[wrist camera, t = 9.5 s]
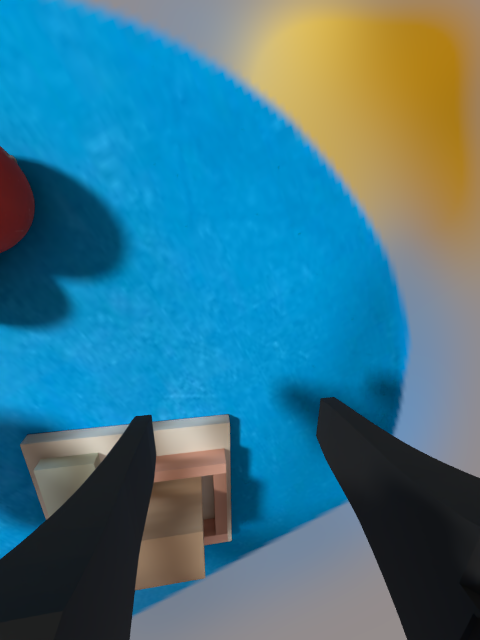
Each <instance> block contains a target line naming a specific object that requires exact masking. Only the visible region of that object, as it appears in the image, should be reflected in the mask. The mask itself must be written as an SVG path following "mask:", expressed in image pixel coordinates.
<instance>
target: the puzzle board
mask: <svg viewBox="0 0 480 640" xmlns="http://www.w3.org/2000/svg"><path fill="white" fill-rule="evenodd" d="M152 424H153V431H154V439H155V446H156V454H157V455H156V466H155V476H154V482H161V481H169V480H176V479H184V478H192V477H199V476H201V480H202V500H203V525H204V545H210V544H216V543H222V542H228V541H232V538H231V470H230V421H229V415H228V414H227V415H217V416H207V417H198V418H188V419H178V420H168V421H158V422H152ZM128 426H129V424H128V425H118V426H108V427H98V428H88V429H78V430H68V431H58V432H48V433H38V434H28V435H27V436H26V437H25V439H24V440H23V441H22V443H21V444H20V446H21V449H22V452H23V455H24V458H25V461H26V464H27V466H28V469H29V472H30V475H31V478H32V481H33V484H34V487H35V489H36V492H37V495H38V498H39V501H40V504H41V507H42V510H43V512H44V515H45V518H46V520H47V519H48V518H49V517H50V516H51V515H52V514H53V513H54V512H56V511H57V510H58V509H59V508H60V507H61V506H62V505H63V504H64V503H65V502H66V501H67V500H68V499H69V498H70V497H71V496H72V495H73V494H74V493H75V492H76V490H77V489H78V488H79V487H80V486H81V485H82V484H83V483H84V482H85V481H86V480H87V478H88V477H89V476H90V475H91V474H92V472H93V471H94V470H95V469H96V468H97V467H98V465H99V464H100V463H101V462H102V461H103V459H104V458H105V457H106V456H107V454H108V453H109V452H110V450H111V449H112V448H113V446H114V445H115V444H116V443H117V441H118V440H119V438H120V437H121V436H122V434H123V433H124V431H125V430H126V429H127V427H128Z"/></svg>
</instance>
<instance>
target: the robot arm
mask: <svg viewBox="0 0 480 640" xmlns="http://www.w3.org/2000/svg"><path fill="white" fill-rule="evenodd" d="M316 436H317V439H318V441H319V444H320V447H321V449H322V452H323V454H324V456H325V459H326V460H327V462H328V464H329V466H330V468H331V470H332V472H333V473H334V475H335V477H336V479H337V481H338V482H339V484H340V486H341V488H342V490H343V491H344V493H345V495H346V497H347V499H348V500H349V502H350V504H351V506H352V508H353V509H354V511H355V513H356V515H357V517H358V519H359V521H360V523H361V525H362V528H363V530H364V533H365V535H366V537H367V539H368V542H369V544H370V546H371V548H372V551H373V553H374V555H375V558H376V560H377V563H378V565H379V568H380V570H381V572H382V575H383V577H384V579H385V582H386V585H387V587H388V590H389V592H390V595H391V598H392V600H393V603H394V605H395V608H396V610H397V613H398V615H399V618H400V621H401V624H402V626H403V629H404V632H405V635H406V637H407V640H480V478H478V477H475V476H473V475H470V474H468V473H465V472H463V471H461V470H459V469H456V468H454V467H452V466H449V465H447V464H445V463H443V462H441V461H438V460H437V459H435V458H432V457H430V456H429V455H427V454H425V453H423V452H420V451H419V450H417V449H415V448H413V447H411V446H409V445H407V444H406V443H404V442H402V441H400V440H399V439H397V438H396V437H394V436H392V435H391V434H389V433H387V432H386V431H384V430H383V429H381V428H379V427H378V426H376V425H375V424H373V423H372V422H370V421H369V420H367V419H366V418H364V417H363V416H361V415H360V414H358V413H357V412H355V411H354V410H353V409H351V408H350V407H348V406H347V405H345V404H344V403H342V402H341V401H339V400H338V399H336V398H334V397H330V398H321V400H320V409H319V417H318V425H317V434H316ZM156 455H157V454H156V446H155V439H154V431H153V424H152V416H151V415H144V416H136V417H135V418H134V419H133V420H132V421H131V423H130V424H129V426H128V427H127V429H126V430H125V431H124V433H123V434H122V436H121V437H120V438H119V440H118V441H117V443H116V444H115V445H114V446H113V448H112V449H111V450H110V452H109V453H108V454H107V456H106V457H105V458H104V459H103V461H102V462H101V463H100V464H99V465H98V467H97V468H96V469H95V470H94V471H93V472H92V474H91V475H90V476H89V477H88V478H87V480H86V481H85V482H84V483H83V484H82V485H81V486H80V487H79V488H78V489H77V490H76V492H75V493H74V494H73V495H72V496H71V497H70V498H69V499H68V500H67V501H66V502H65V503H64V504H63V505H62V506H61V507H60V508H59V509H58V510H57V511H56V512H54V513H53V514H52V515H51V516H50V517H49V518H48V519H47V520H46V521H45V522H44V523H43V524H42V525H40V526H39V527H38V528H37V529H36V530H35V531H34V532H33V533H32V534H30V535H29V536H28V537H27V538H26V539H25V540H23V541H22V542H21V543H20V544H19V545H17V546H16V547H15V548H14V549H13V550H11V551H10V552H9V553H8V554H6V555H5V556H4V557H3V558H1V559H0V640H129V639H130V629H131V620H132V611H133V602H134V593H135V585H136V576H137V568H138V560H139V553H140V547H141V542H142V537H143V532H144V527H145V522H146V517H147V513H148V508H149V503H150V498H151V493H152V488H153V483H154V476H155V466H156Z"/></svg>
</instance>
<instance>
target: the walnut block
mask: <svg viewBox="0 0 480 640" xmlns="http://www.w3.org/2000/svg"><path fill="white" fill-rule="evenodd" d="M203 578H205V556H204V525H203V500H202V480H201V476H199V477H192V478H184V479H176V480H169V481H161V482H154V483H153V488H152V493H151V498H150V503H149V508H148V513H147V517H146V522H145V527H144V532H143V537H142V542H141V547H140V553H139V560H138V568H137V576H136V585H135V590H140V589H145V588H151V587H157V586H163V585H168V584H174V583H180V582H186V581H191V580H197V579H203Z"/></svg>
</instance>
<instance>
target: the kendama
mask: <svg viewBox="0 0 480 640" xmlns="http://www.w3.org/2000/svg"><path fill="white" fill-rule="evenodd" d="M34 212H35V202H34V196H33V193H32V190H31V187H30V184H29V182H28V180H27V178H26V176H25V175H24V173H23V171H22V170H21V168H20V167H19V165H18V164H17V160H16V159H15V158H14V157H13V156H12V155H9V154H8V153H7V152H6V151H5V150H4V149H3V148H2V147H1V146H0V253H1V252H4V251H6V250H8V249H10V248H11V247H13V246H14V245H16V244H17V243H18V242H19V241H20V240H21V239H22V238H23V237H24V236H25V235H26V233H27V232H28V230H29V228H30V226H31V224H32V221H33V218H34Z"/></svg>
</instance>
